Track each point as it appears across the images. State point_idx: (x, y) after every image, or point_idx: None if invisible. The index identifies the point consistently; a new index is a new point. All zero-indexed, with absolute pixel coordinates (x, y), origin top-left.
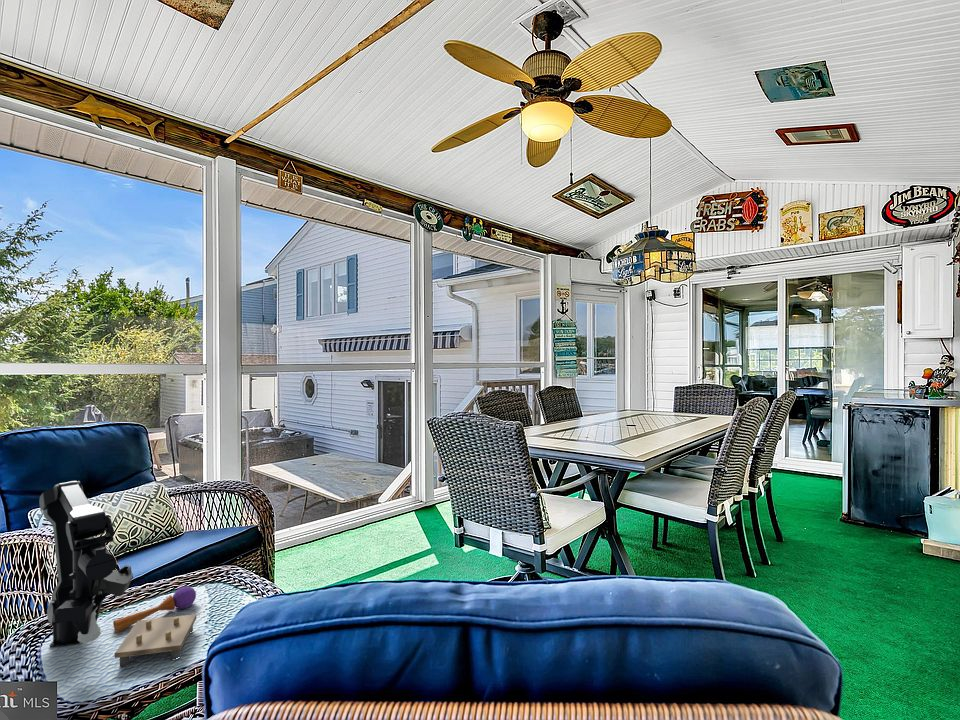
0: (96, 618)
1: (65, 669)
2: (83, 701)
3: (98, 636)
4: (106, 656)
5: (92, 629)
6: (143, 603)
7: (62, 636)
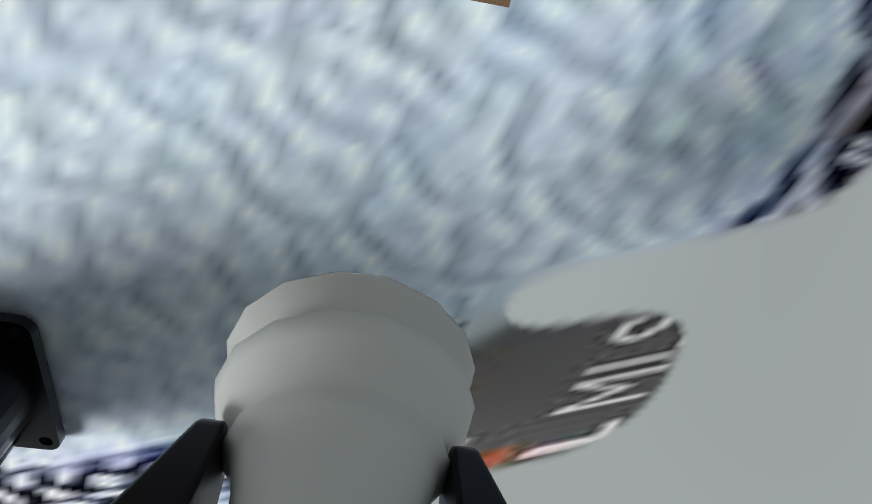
0: (184, 497)
1: None
2: (824, 125)
3: (396, 282)
4: (242, 95)
5: (417, 432)
6: None
7: (4, 440)
